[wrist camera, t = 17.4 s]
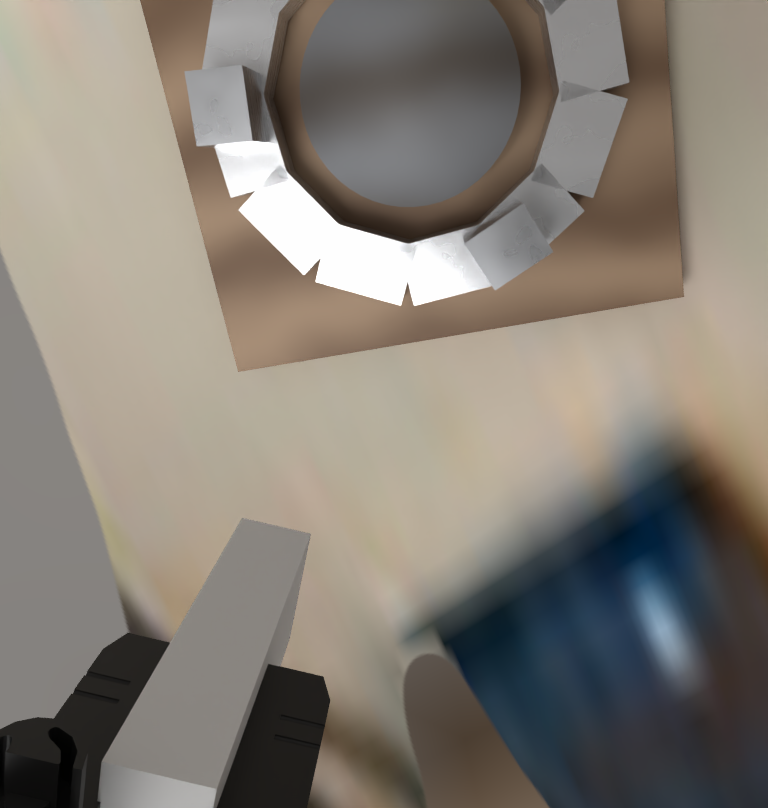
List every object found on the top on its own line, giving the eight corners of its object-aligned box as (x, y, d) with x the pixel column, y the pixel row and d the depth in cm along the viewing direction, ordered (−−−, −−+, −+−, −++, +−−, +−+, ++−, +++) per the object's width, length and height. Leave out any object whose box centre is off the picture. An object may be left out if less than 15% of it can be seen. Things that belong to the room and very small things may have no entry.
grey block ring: (413, -250, 30) (407, -326, 25) (699, 93, 33) (740, 82, 29) (140, 99, 36) (93, 90, 31) (408, 366, 39) (403, 394, 34)
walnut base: (672, 290, 39) (700, 306, 34) (247, 362, 42) (225, 384, 38) (634, -249, 31) (663, -314, 27) (125, -110, 35) (80, -148, 30)
